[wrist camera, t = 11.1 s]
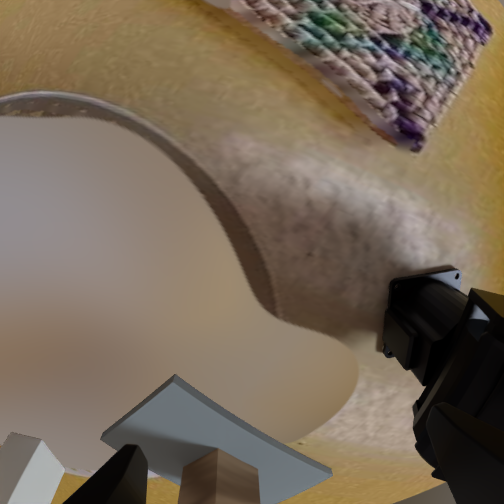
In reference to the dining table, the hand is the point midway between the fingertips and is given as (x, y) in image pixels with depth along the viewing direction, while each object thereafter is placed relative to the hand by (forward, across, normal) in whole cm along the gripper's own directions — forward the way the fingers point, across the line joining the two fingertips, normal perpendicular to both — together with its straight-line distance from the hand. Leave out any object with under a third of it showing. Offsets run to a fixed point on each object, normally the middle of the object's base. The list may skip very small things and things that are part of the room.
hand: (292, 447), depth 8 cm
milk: (+13, +29, +20) cm, 38 cm away
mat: (+13, +6, +18) cm, 23 cm away
